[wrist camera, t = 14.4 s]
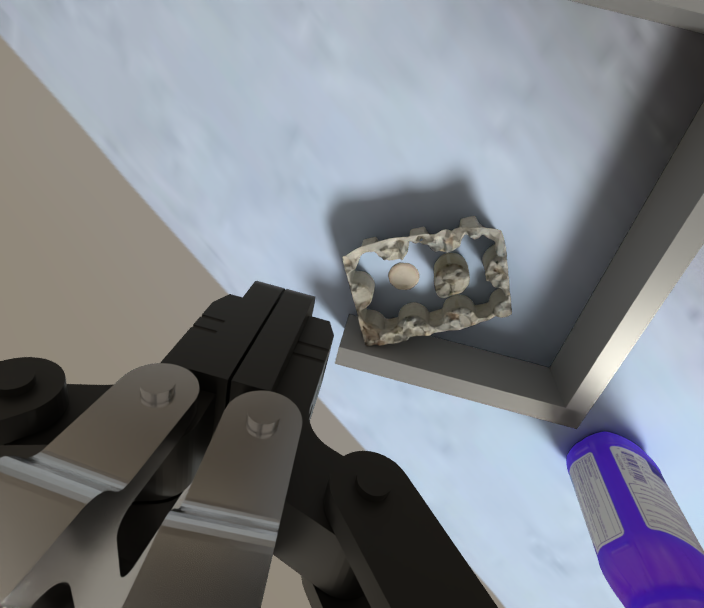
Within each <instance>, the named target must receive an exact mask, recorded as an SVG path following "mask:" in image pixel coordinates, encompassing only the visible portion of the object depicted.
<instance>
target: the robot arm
mask: <svg viewBox="0 0 704 608" xmlns="http://www.w3.org/2000/svg"><path fill="white" fill-rule="evenodd" d="M314 303H315V297H314V296H311V295H307V294H303V293H300V292H296V291H292V290H289V289H286V290H285V288H281V287H277V286H274V285H270V284H266V283H263V282H259V281H255V282H254V283H253V285H252V286H251V287H250V289H249V290H248V291H247V293H246V294H245V295H244V297H243V298H242V297H239V296H235V295H231V294H229V295H227V296H225V297H223V298H221V299H218V300H216V301H214V302H213V303H212V304H211V305H210V306H209V307H208V308H207V309H206V311H205V312H204V313H203V314H202V317H200V318H199V319H198V320H197V321H196V322H195V323H194V325H193V327H191V328H190V329H189V330H188V331H187V333H186V334H185V335H184V336H183V337H182V339H180V341H179V342H178V343H177V344H176V345H175V346H174V348H173V349H172V350H171V351H170V352H169V353H168V355H167V356H166V357H165V358H164V359H163V360H162V362H161V363H157V364H149V365H145V366H141V367H138V368H136V369H134V370H132V371H130V372H128V373H127V374H125V375H124V376H123V377H122V378H121V379H120V380H118V381H117V382H116V383H115V384H114V385H82V384H66V378H65V373H64V371H63V370H62V368H61V367H60V366H59V365H57V364H56V363H54V362H52V361H49V360H47V359H42V358H33V357H22V358H13V359H8V360H4V361H0V608H261V603H262V599H263V594H264V590H265V586H266V582H267V578H268V573H269V569H270V564H271V559H272V556H273V555H275V556H276V557H277V558H279V559H280V560H281V561H283V562H284V563H285V564H287V565H288V566H289V567H291V568H292V569H294V570H295V571H296V572H298V573H299V574H300V575H301V577H302V584H303V587H304V590H305V593H306V595H307V597H308V600H309V602H310V605H311V607H312V608H498V607H497V605H496V604H495V603H494V601H493V600H492V598H491V597H490V595H489V594H488V592H487V591H486V589H485V588H484V587H483V585H482V584H481V582H480V581H479V579H478V578H477V576H476V575H475V574H474V572H473V571H472V569H471V568H470V566H469V565H468V563H467V562H466V561H465V559H464V558H463V556H462V555H461V553H460V552H459V550H458V549H457V547H456V546H455V545H454V543H453V542H452V540H451V539H450V537H449V536H448V534H447V533H446V532H445V530H444V529H443V527H442V526H441V524H440V523H439V521H438V520H437V518H436V517H435V516H434V514H433V513H432V511H431V510H430V508H429V507H428V505H427V504H426V503H425V501H424V500H423V498H422V497H421V495H420V494H419V492H418V491H417V490H416V488H415V487H414V485H413V484H412V482H411V481H410V479H409V478H408V476H407V475H406V474H405V472H404V471H403V470H402V469H401V468H400V467H399V466H398V465H397V464H396V463H395V462H394V461H392V460H391V459H389V458H387V457H386V456H384V455H381V454H378V453H375V452H371V451H357V452H352V453H349V454H347V455H345V456H342V455H341V454H339V453H338V452H336V451H334V450H333V449H331V448H330V447H328V446H327V445H325V444H324V443H323V442H322V441H321V440H320V439H319V438H318V437H317V436H316V434H315V433H314V431H313V429H312V427H311V424H310V419H311V416H312V413H313V409H314V406H315V403H316V400H317V397H318V394H319V391H320V387H321V384H322V381H323V377H324V373H325V369H326V365H327V361H328V357H329V353H330V349H331V345H332V341H333V337H334V334H333V331H332V328H331V324H330V321H326V320H323V319H319V318H315V317H312V313H313V308H314Z"/></svg>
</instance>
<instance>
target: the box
mask: <svg viewBox="0 0 704 608" xmlns="http://www.w3.org/2000/svg"><path fill="white" fill-rule="evenodd" d="M570 1H574V2H578V3H582V4H586V5H590V6H594V7H598V8H602V9H606V10H610V11H614V12H618V13H622V14H626V15H630V16H634V17H638V18H642V19H646V20H650V21H654V22H658V23H662V24H666V25H670V26H674V27H678V28H682V29H686V30H690V31H694V32H698V33H702V34H704V0H570ZM703 244H704V102H703V104H702V105H701V107H700V109H699V110H698V112H697V114H696V116H695V117H694V119H693V121H692V123H691V124H690V126H689V128H688V129H687V131H686V133H685V135H684V136H683V138H682V140H681V142H680V143H679V145H678V147H677V149H676V150H675V152H674V154H673V155H672V157H671V159H670V161H669V162H668V164H667V166H666V168H665V169H664V171H663V173H662V174H661V176H660V178H659V180H658V181H657V183H656V185H655V187H654V188H653V190H652V192H651V193H650V195H649V197H648V199H647V200H646V202H645V204H644V206H643V207H642V209H641V211H640V213H639V214H638V216H637V218H636V219H635V221H634V223H633V225H632V226H631V228H630V230H629V232H628V233H627V235H626V237H625V238H624V240H623V242H622V244H621V245H620V247H619V249H618V251H617V252H616V254H615V256H614V257H613V259H612V261H611V263H610V264H609V266H608V268H607V270H606V271H605V273H604V275H603V277H602V278H601V280H600V282H599V283H598V285H597V287H596V289H595V290H594V292H593V294H592V296H591V297H590V299H589V301H588V302H587V304H586V306H585V308H584V309H583V311H582V313H581V315H580V316H579V318H578V320H577V321H576V323H575V325H574V327H573V328H572V330H571V332H570V334H569V335H568V337H567V339H566V341H565V342H564V344H563V346H562V347H561V349H560V351H559V353H558V354H557V356H556V358H555V360H554V361H553V363H552V365H551V366H550V368H549V367H545V366H541V365H537V364H534V363H530V362H526V361H522V360H519V359H515V358H511V357H508V356H504V355H500V354H496V353H493V352H489V351H485V350H481V349H478V348H474V347H470V346H466V345H463V344H459V343H455V342H452V341H448V340H444V339H440V338H437V337H433V336H429V335H428V336H412V337H409V339H408V340H406V341H402V342H398V343H395V344H385V345H380V346H378V345H372V346H366V345H365V342H364V339H363V335H362V331H361V327H360V324H359V319H358V316H354V315H351V314H349V316H348V319H347V323H346V326H345V329H344V332H343V336H342V339H341V342H340V345H339V349H338V353H337V357H336V361H335V364H338V365H342V366H346V367H349V368H353V369H357V370H360V371H364V372H368V373H371V374H375V375H379V376H383V377H386V378H390V379H394V380H397V381H401V382H405V383H408V384H412V385H416V386H419V387H423V388H427V389H431V390H434V391H438V392H442V393H445V394H449V395H453V396H456V397H460V398H464V399H468V400H471V401H475V402H479V403H482V404H486V405H490V406H493V407H497V408H501V409H504V410H508V411H512V412H516V413H519V414H523V415H527V416H530V417H534V418H538V419H541V420H545V421H549V422H552V423H556V424H560V425H564V426H567V427H571V428H575V429H577V428H578V427H579V425H580V424H581V422H582V421H583V419H584V418H585V416H586V415H587V414H588V412H589V411H590V409H591V408H592V406H593V405H594V403H595V402H596V400H597V399H598V397H599V396H600V394H601V393H602V392H603V390H604V389H605V387H606V386H607V384H608V383H609V381H610V380H611V378H612V377H613V375H614V374H615V373H616V371H617V370H618V368H619V367H620V365H621V364H622V362H623V361H624V359H625V358H626V356H627V355H628V353H629V352H630V351H631V349H632V348H633V346H634V345H635V343H636V342H637V340H638V339H639V337H640V336H641V334H642V333H643V332H644V330H645V329H646V327H647V326H648V324H649V323H650V321H651V320H652V318H653V317H654V315H655V314H656V312H657V311H658V310H659V308H660V307H661V305H662V304H663V302H664V301H665V299H666V298H667V296H668V295H669V293H670V292H671V290H672V289H673V288H674V286H675V285H676V283H677V282H678V280H679V279H680V277H681V276H682V274H683V273H684V271H685V270H686V269H687V267H688V266H689V264H690V263H691V261H692V260H693V258H694V257H695V255H696V254H697V252H698V251H699V249H700V248H701V247H702V245H703Z"/></svg>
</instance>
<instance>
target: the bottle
mask: <svg viewBox="0 0 704 608" xmlns="http://www.w3.org/2000/svg"><path fill="white" fill-rule="evenodd" d="M567 469H568V473H569V475H570V478H571V481H572V484H573V487H574V490H575V493H576V496H577V498H578V501H579V504H580V507H581V510H582V513H583V516H584V519H585V522H586V525H587V528H588V531H589V534H590V537H591V540H592V543H593V545H594V548H595V551H596V554H597V557H598V561H599V565H600V568H601V570H602V572H603V575H604V576H605V578H606V580H607V582H608V583H609V585H610V587H611V588H612V590H613V591H614V593H615V594H616V596H617V597H618V598H619V600H620V601H621V602H622V604H623V605H624V607H625V608H704V550H703V549H702V547H701V545H700V543H699V542H698V540H697V538H696V536H695V534H694V533H693V531H692V529H691V527H690V525H689V524H688V522H687V520H686V518H685V516H684V515H683V513H682V511H681V509H680V507H679V506H678V504H677V502H676V500H675V498H674V496H673V495H672V493H671V491H670V489H669V487H668V485H667V484H666V482H665V480H664V478H663V476H662V474H661V471H660V469H659V468H658V467H657V465H656V464H655V462H654V461H653V460H652V459H651V458H650V457H649V456H648V455H647V454H646V453H645V452H644V451H643V450H642V449H641V448H640V447H639V446H637V445H636V444H635V443H633V442H631V441H630V440H628V439H626V438H624V437H622V436H620V435H617V434H614V433H610V432H599V433H595V434H592V435H590V436H588V437H586V438H584V439H583V440H582V441H580V442H578V443H577V444H575V445H574V446H573V447H572V448H571V450H570V451H569V453H568V454H567Z"/></svg>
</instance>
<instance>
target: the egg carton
mask: <svg viewBox="0 0 704 608" xmlns="http://www.w3.org/2000/svg"><path fill="white" fill-rule="evenodd" d="M465 234H467V235H468V236H469V237H471V238H473V239H478V238H480V236H481V235H485V236H486V237H487V238H489V239H492V240H493V241H495V244H494V245H492V246H491V247H489V248H488V249H487V250H486V251H485V253H484V254H483V258H482V261H483V266H484V269H485V276H486V280H487V281H490V282H491V283H492V285H493V286H494V287H497V288H498V289H496V290H495V291H494V292H492V294H491V295H490V298H489V302H487V303H484V304H478V305H474V303H473V301H472V300H471V299H470V298H469V297H467V296H465V295H458V294H459V293H462V292H463V291H464V290H465V289H466V287H467V286H468V284H469V280H470V277H469V270H468V265H467V262H466V261H465V259H464V258H463V257H462V256H461V255H459V254H457V253H448V252H451V251H453V250H455V249H456V248H458V247H459V246H460V244H461V240H462V238H463V236H464V235H465ZM421 238H422V239H423V241H419V240H420V239H421ZM409 241H412V242H413V243H415V244H416V243H419V242H421V243H422V244H423V245H426V244H427V245H429V246H430V249H432V250H433V251H435V252H437V251H443V252H446V254H444V255H442V256H440V257H439V258H438V260H437V261H436V262H435V264H434V286H435V290H436V293H437V295H438V296H439V297H441V298H447V297H449V296H451V295H453V296H451V297H449V298H448V299H446V301H445V302H444V304H443V308H442V309H439V310H436V311H433V312H428V310H427V309H426V307H425V306H423V305H422V304H419V303H416V302H411V303H408V304H406V305H404V306H403V307H402V308H401V309H400V311H399V314H398V317H395V318H391V319H387V318H385V317H384V316H383V315H382V314H381V313H380V312H378V311H376V310H370V309H367V308H366V307H367V306H368V305H369V304H370V303H371V300H372V297H373V293H374V289H375V283H374V280H373V278H372V277H371V276H370V275H369V274H368V273H366V272H363V271H356V270H355V268H356V266H357V264H358V262H359V259H360V256H361V255H362V254H364V253H365V252H373V251H374V252H375V253H377V254H378V255H379V256H380V257H381V258H382V259H383V260H395V259H401V260H403V258H404V257H405V255H406V254H407V252H408V246H409ZM343 263H344V267H345V271H346V274H347V278H348V281H349V285H350V290H351V293H352V296H353V300H354V303H355V307H356V311H357V314H358V319H359V324H360V327H361V331H362V335H363V339H364V342H365V345H366V346H372V345H378V346H380V345H385V344H395V343H398V342H402V341H406V340H408V339H409V337H412V336H428V335H431V334H433V333H436V332H444V331H448V330H461V329H463V328H467V327H470V326H473V325H476V324H478V323H480V322H483V321H487V320H490V319H491V318H493V317H495V316H498V317H501V318H502V317H507V316H509V315H511V314H512V308H511V296H510V289H509V277H508V266H507V253H506V246H505V241H504V237H503V234H502V231H501V230H498V229H490V228H485V227H483V226H482V225H480V224H479V222H478V221H477V218H476V216H471V217H466V218H462V219H461V220H460V225H459V228H455V229H454V230H448V229H446V230H442V231H440V232H439V233H437V234H429V233H428V232H427V230H426V228H425V227H419V228H415V229H411V230H410V235H409V237H400V238H390V239H386V240H383V241H378V239H377V237H372V238H368V239H364V240H363V242H362V246H361V247H360V248H357V249H355V250H354V251H352V252H351V253H349V254H348V255H346V256H343ZM388 277H389V281H390V283H391V284H392V285H393V286H394V287H395V288H397V289H400V290H408V289H411V288H413V287H414V286H415V285H416V284H417V283H418V281H419V272H418V270H417V269H416V268H415V267H414V266H413V265H411V264H409V263H398V264H396V265H394V266H393V267H392V268H391V270H390V271H389V274H388ZM455 294H457V295H455Z"/></svg>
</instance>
